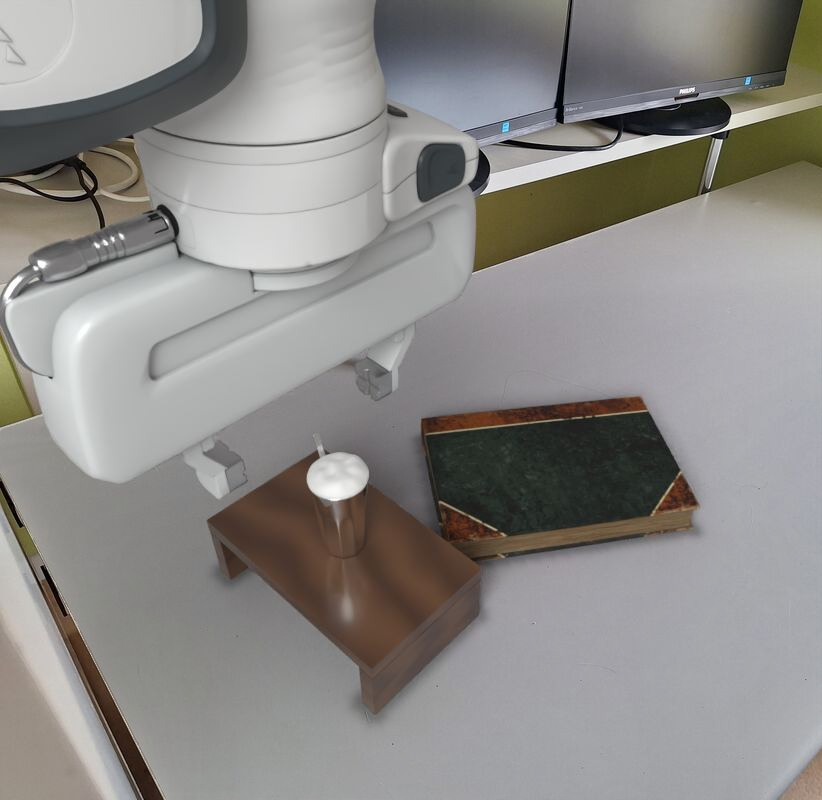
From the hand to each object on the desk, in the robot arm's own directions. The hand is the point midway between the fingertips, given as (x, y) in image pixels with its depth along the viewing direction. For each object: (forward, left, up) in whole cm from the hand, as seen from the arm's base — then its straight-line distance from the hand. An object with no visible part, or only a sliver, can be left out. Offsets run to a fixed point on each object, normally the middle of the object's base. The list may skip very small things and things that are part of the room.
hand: (307, 434), depth 38 cm
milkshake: (+8, +9, -24) cm, 27 cm away
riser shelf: (+8, +9, -31) cm, 33 cm away
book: (+31, +4, -31) cm, 44 cm away
